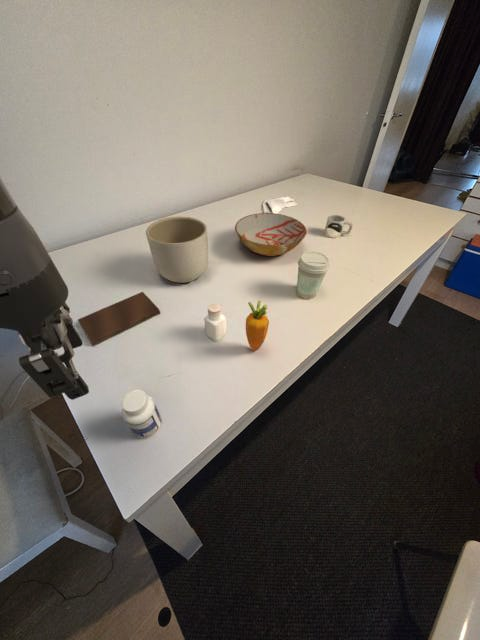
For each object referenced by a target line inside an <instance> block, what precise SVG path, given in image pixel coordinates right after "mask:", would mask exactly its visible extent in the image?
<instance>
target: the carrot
mask: <svg viewBox="0 0 480 640" xmlns="http://www.w3.org/2000/svg"><path fill="white" fill-rule="evenodd" d="M247 304H248V306H249V307H250V310H251V312H250V313H249V315H247V317H246V319H245V335H246V338H247V343H248V345H249V347H250V349H251V350H252V351H253V352H257V351H259V349H260V348H261V346H262V345H263V344H264V341H265V339H266V338H267V334H268V330H269V324H270V320H269V318H268V316H267V315H266V314H268V311H267V310H268V305H267V304H264V305H262V307H261V304H262V300H258V301H257V303H256V309H255V307H254V304H253V303H252V302H251V301H249V302H248V303H247ZM260 307H261V308H260Z"/></svg>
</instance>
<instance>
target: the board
mask: <svg viewBox="0 0 480 640" xmlns="http://www.w3.org/2000/svg"><path fill="white" fill-rule="evenodd" d="M160 314H161V311H160V308H158V306H157V305H156V304H155V303H154V302H153V301H152V300H151V299H150V298H149V297H148V296H147V294H146V293H144V291H141V292H139V293H136V294H133V295H132V296H129V297H127V298H124V299H122V300H120V301H117V302H115V303H112V304H111V305H110V304H109V305H108V306H105V307H103V308H101V309H98V310H97V311H94V312H92V313H89V314H87V315H85V316H83V317H80V318H78V319H77V321H78V323H79V325H80V326H81V328H82V330H83V332H84V333H85V335H86V336H87V338H88V339H89V342H91V345H92V346H93V347H95V346H97V345H99V344H102V343H103V342H105V341H107V340H110V339H111V338H113V337H115V336H117V335H120V334H121V333H124V332H125V331H128V330H129V329H132V328H134V327H136V326H138V325H140V324H142V323H144V322H146V321H148V320H150V319H152V318H154V317H156V316H158V315H160Z"/></svg>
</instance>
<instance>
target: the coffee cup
mask: <svg viewBox="0 0 480 640" xmlns="http://www.w3.org/2000/svg"><path fill="white" fill-rule="evenodd" d="M297 265H298V267H297V282H296V295H297V296H298V297H300V298H302V299H304V300H311V299H312V300H313V299H314V298H315V297H316V296H317V294H318V291H319V289H320V287H321V285H322V283H323V281H324V278H325V276H326V273H327V272H328V271H329V269H330V258H329V257H328V256H327V255H326V254H324V253H322V252H319V251H306V252H304V253H301V255H300V257H299V258H298V261H297Z"/></svg>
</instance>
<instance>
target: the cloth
mask: <svg viewBox="0 0 480 640" xmlns="http://www.w3.org/2000/svg"><path fill="white" fill-rule="evenodd" d="M294 200H295V199H294V198H291V197H290V196H282V197H277V198H271V199H265V200H263V201H262V202H263V203H262V210H263V213H274V214H280V212H281V211H282V210H283V209H285V208H291V207H295V206H297V205H298V203H296V202H294Z"/></svg>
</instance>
